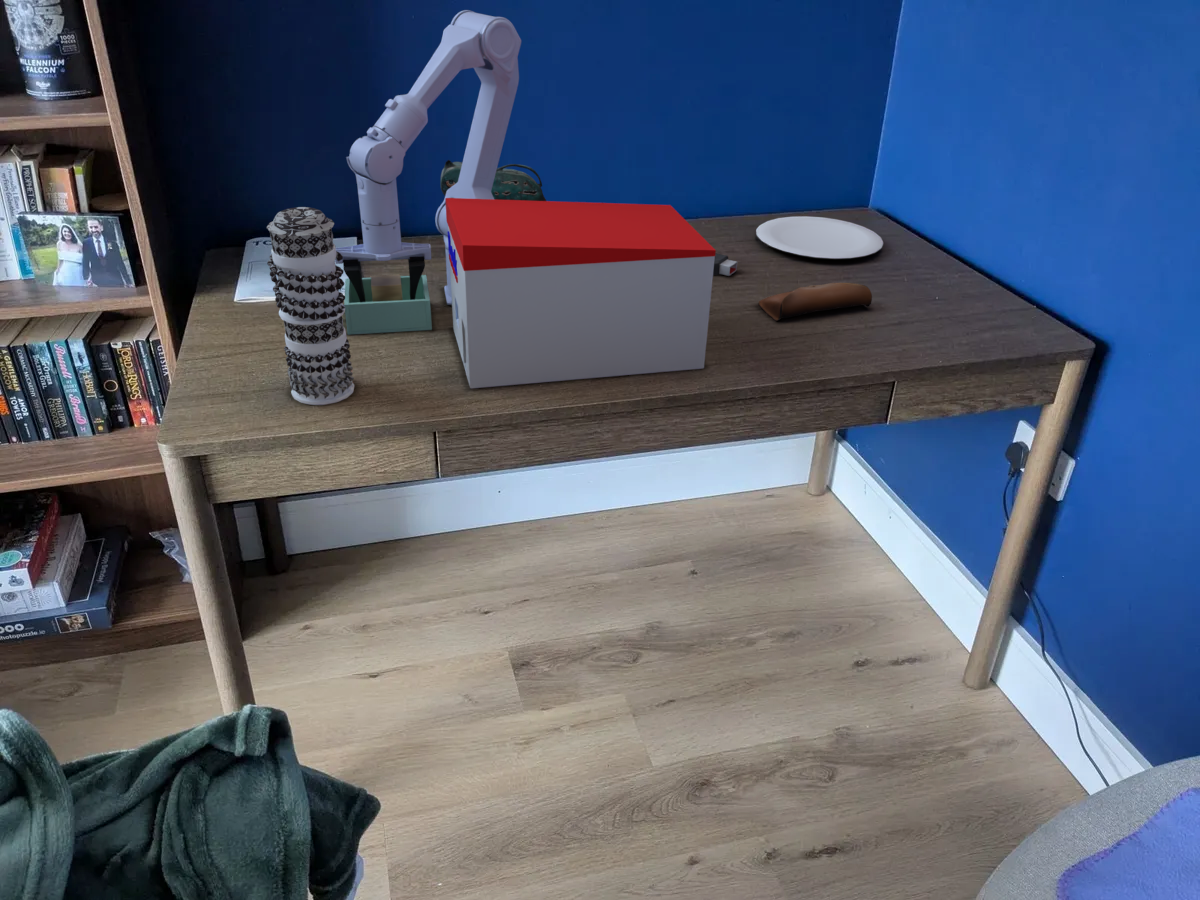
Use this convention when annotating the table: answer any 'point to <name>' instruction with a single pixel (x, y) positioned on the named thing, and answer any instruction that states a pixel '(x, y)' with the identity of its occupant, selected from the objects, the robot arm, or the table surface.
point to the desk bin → (387, 309)
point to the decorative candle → (311, 305)
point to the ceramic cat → (500, 182)
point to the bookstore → (575, 290)
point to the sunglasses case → (816, 299)
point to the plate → (819, 238)
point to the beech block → (386, 287)
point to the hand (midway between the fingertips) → (388, 303)
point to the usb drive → (724, 265)
